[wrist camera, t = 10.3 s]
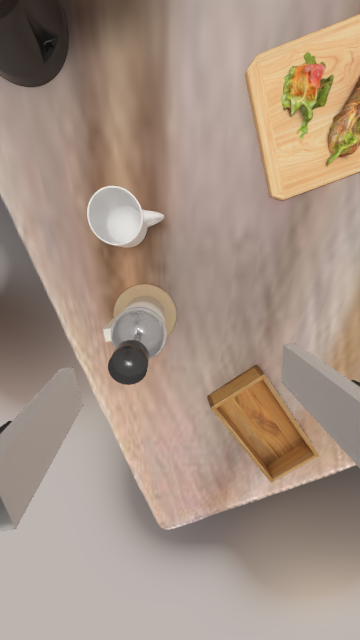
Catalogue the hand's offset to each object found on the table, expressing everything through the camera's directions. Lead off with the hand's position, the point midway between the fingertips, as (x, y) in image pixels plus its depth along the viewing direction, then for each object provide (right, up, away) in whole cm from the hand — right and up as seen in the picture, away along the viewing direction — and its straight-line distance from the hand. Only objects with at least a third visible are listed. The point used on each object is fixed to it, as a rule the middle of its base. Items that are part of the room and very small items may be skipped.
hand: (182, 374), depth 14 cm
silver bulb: (-7, +1, +23) cm, 24 cm away
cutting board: (+31, +44, +28) cm, 61 cm away
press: (-8, +5, +36) cm, 37 cm away
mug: (-9, +23, +31) cm, 40 cm away
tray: (+22, -24, +47) cm, 57 cm away
